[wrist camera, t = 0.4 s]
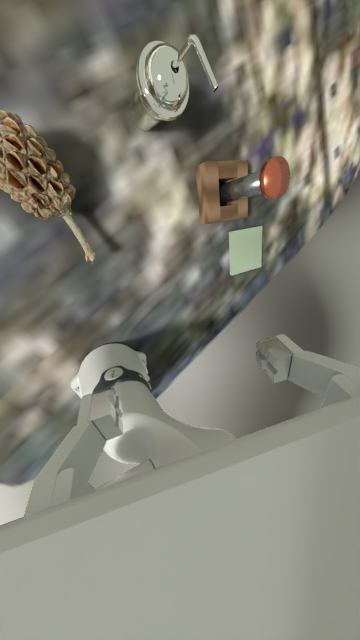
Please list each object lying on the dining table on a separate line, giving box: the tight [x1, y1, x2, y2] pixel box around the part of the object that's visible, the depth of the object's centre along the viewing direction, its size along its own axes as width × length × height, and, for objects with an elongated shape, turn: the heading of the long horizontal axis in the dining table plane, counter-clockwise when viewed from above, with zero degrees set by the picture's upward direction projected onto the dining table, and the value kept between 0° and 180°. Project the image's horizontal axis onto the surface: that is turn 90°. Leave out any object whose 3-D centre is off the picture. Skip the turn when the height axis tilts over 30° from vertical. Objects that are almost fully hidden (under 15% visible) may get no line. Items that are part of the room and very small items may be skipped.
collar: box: [196, 160, 248, 224], centre depth 50 cm, size 12×12×4 cm
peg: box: [219, 156, 290, 204], centre depth 45 cm, size 6×6×17 cm
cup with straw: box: [131, 34, 218, 131], centre depth 31 cm, size 8×9×20 cm
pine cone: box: [0, 110, 95, 264], centre depth 33 cm, size 22×10×10 cm, turn 33°
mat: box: [229, 226, 262, 275], centre depth 61 cm, size 12×12×1 cm
